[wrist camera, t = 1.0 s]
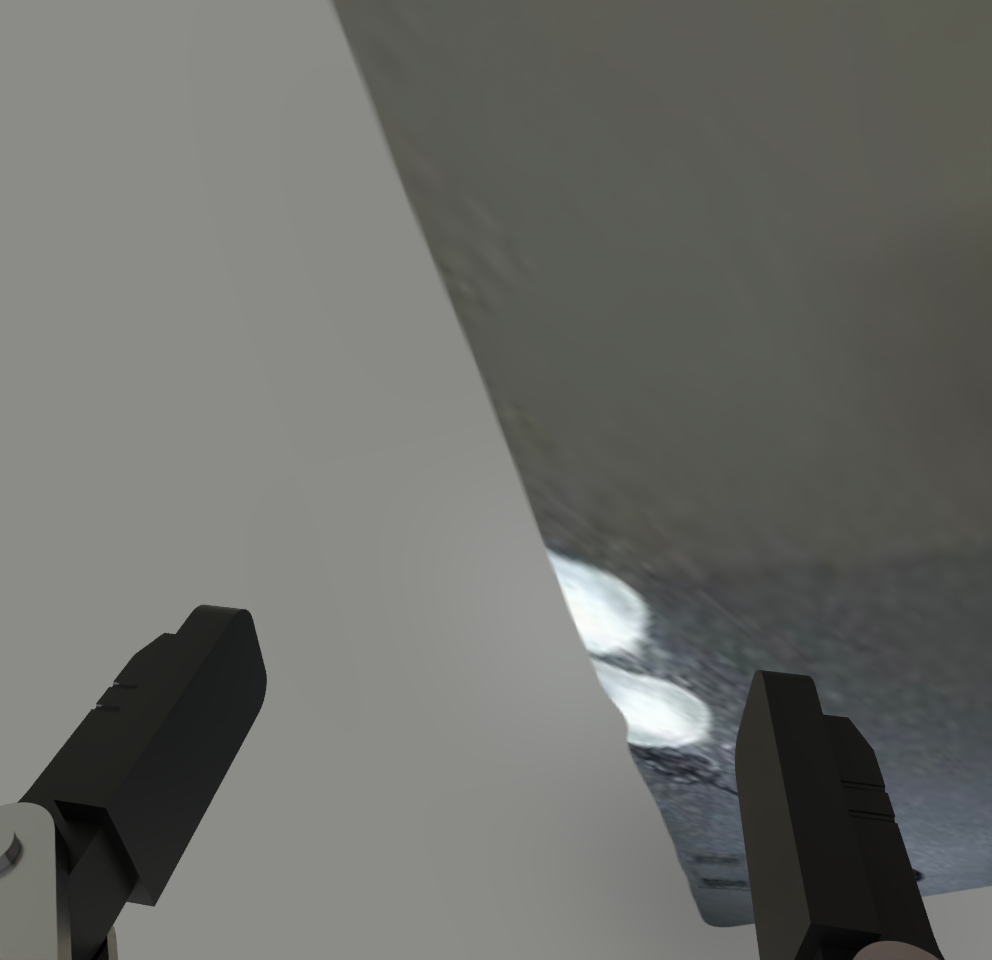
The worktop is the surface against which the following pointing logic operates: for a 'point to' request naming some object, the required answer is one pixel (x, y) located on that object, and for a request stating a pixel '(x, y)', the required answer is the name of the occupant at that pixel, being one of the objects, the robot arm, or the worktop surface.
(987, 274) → the worktop surface
